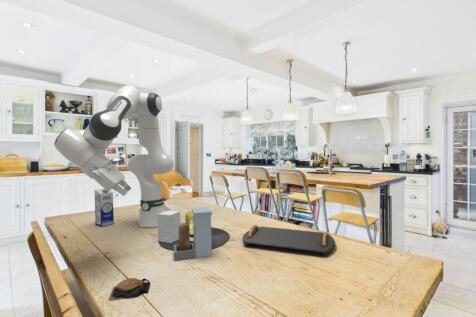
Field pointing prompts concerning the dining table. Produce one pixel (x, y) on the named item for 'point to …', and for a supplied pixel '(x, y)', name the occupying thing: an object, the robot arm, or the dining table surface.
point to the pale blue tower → (198, 236)
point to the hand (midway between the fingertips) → (128, 191)
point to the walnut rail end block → (184, 236)
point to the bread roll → (129, 289)
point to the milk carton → (104, 207)
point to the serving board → (290, 239)
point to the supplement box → (168, 226)
